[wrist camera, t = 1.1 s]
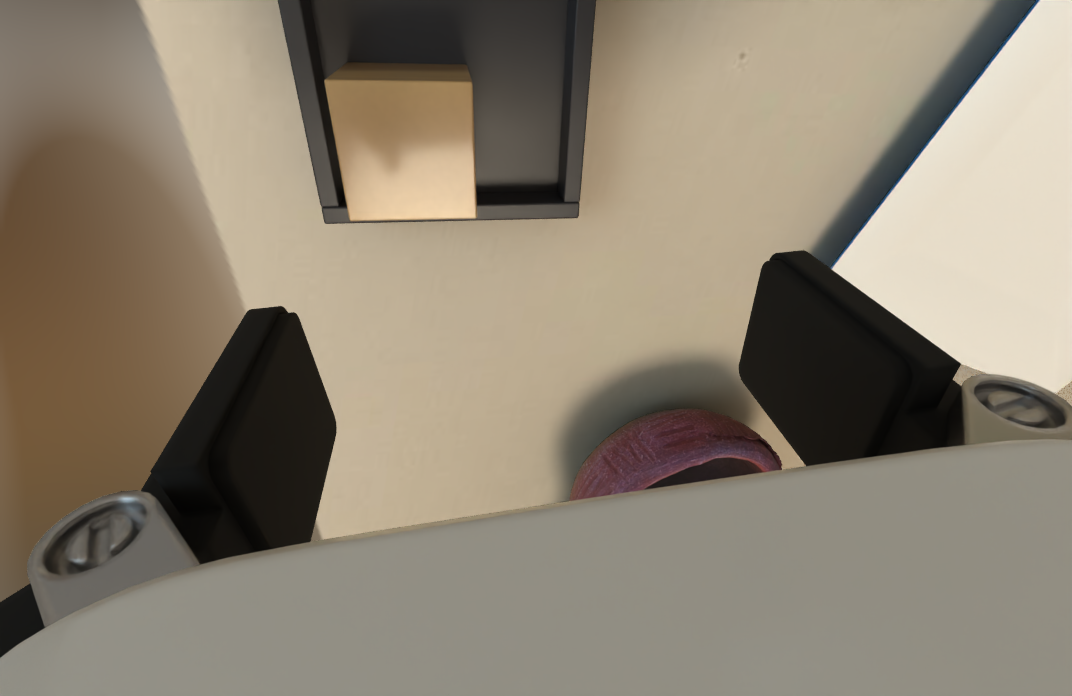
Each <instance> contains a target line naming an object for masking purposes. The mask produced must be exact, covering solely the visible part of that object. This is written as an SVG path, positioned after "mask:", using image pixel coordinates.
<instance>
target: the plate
mask: <svg viewBox="0 0 1072 696" xmlns="http://www.w3.org/2000/svg"><path fill="white" fill-rule="evenodd" d="M830 269H832V270H833V271H834V272H836V273H837V274H839V275H840V276H841V277H843V278H844V279H845V280H847V281H848V282H850V283H851V284H852V285H854V286H855V287H856V288H858V289H859V290H861V291H862V292H863V293H865V294H866V295H867V296H869V297H870V298H872V299H873V300H874V301H876V302H877V303H878V304H880V305H881V306H883V307H884V308H885V309H887V310H888V311H889V312H891V313H892V314H894V315H895V316H896V317H898V318H899V319H900V320H902V321H903V322H905V323H906V324H907V325H909V326H910V327H911V328H913V329H914V330H916V331H917V332H918V333H920V334H921V335H922V336H924V337H925V338H927V339H928V340H929V341H931V342H932V343H933V344H935V345H936V346H938V347H939V348H940V349H942V350H943V351H944V352H946V353H947V354H949V355H950V356H951V357H953V358H954V359H956V360H957V361H958V362H960V363H961V364H963V365H966V366H968V367H971V368H974V369H976V370H979V371H982V372H984V373H987V374H998V375H1003V376H1009V377H1015V378H1018V379H1021V380H1025V381H1028V382H1031V383H1034V384H1036V385H1038V386H1041V387H1043V388H1045V389H1047V390H1049V391H1051V392H1053V393H1054V394H1055V393H1056V392H1058V391H1059V390H1061V389H1062V388H1063V387H1064V386H1066V385H1067V384H1068V383H1069V382H1070V381H1071V380H1072V0H1036V2H1035V3H1034V4H1033V5H1032V7H1031V8H1030V9H1029V11H1028V12H1027V13H1026V14H1025V16H1024V17H1023V18H1022V20H1021V21H1020V22H1019V24H1018V25H1017V26H1016V27H1015V29H1014V30H1013V31H1012V33H1011V34H1010V35H1009V36H1008V38H1007V39H1006V40H1005V42H1004V43H1003V44H1002V46H1001V47H1000V48H999V49H998V51H997V52H996V53H995V55H994V56H993V57H992V58H991V60H990V61H989V62H988V64H987V65H986V66H985V68H984V69H983V70H982V71H981V73H980V74H979V75H978V77H977V78H976V79H975V81H974V82H973V83H972V84H971V86H970V87H969V88H968V90H967V91H966V92H965V93H964V95H963V96H962V97H961V99H960V100H959V101H958V103H957V104H956V105H955V106H954V108H953V109H952V110H951V112H950V113H949V114H948V115H947V117H946V118H945V119H944V121H943V122H942V123H941V125H940V126H939V127H938V128H937V130H936V131H935V132H934V134H933V135H932V136H931V138H930V139H929V140H928V141H927V143H926V144H925V145H924V147H923V148H922V149H921V150H920V152H919V153H918V154H917V156H916V157H915V158H914V160H913V161H912V162H911V163H910V165H909V166H908V167H907V169H906V170H905V171H904V172H903V174H902V175H901V176H900V178H899V179H898V180H897V182H896V183H895V184H894V185H893V187H892V188H891V189H890V191H889V192H888V193H887V194H886V196H885V197H884V198H883V200H882V201H881V202H880V204H879V205H878V206H877V207H876V209H875V210H874V211H873V213H872V214H871V215H870V217H869V218H868V219H867V220H866V222H865V223H864V224H863V226H862V227H861V228H860V229H859V231H858V232H857V233H856V235H855V236H854V237H853V239H852V240H851V241H850V242H849V244H848V245H847V246H846V248H845V249H844V250H843V251H842V253H841V254H840V255H839V257H838V258H837V259H836V261H835V262H834V263H833V264H832V266H831V267H830Z"/></svg>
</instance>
